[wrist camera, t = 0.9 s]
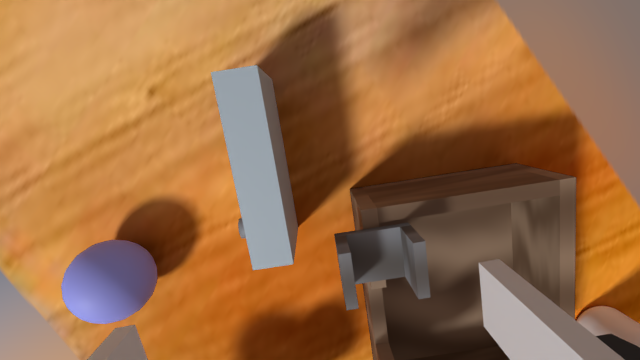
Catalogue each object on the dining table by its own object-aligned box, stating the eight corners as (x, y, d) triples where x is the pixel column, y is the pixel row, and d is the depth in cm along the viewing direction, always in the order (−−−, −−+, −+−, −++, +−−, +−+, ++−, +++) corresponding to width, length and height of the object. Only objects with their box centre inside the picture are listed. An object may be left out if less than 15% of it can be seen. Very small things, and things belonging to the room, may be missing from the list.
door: (229, 86, 28) (197, 74, 20) (272, 79, 28) (256, 65, 20) (258, 232, 31) (240, 272, 23) (298, 226, 31) (293, 264, 23)
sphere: (131, 213, 30) (79, 242, 23) (185, 264, 31) (150, 305, 24) (83, 259, 31) (18, 300, 24) (137, 307, 32) (90, 359, 25)
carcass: (327, 192, 30) (334, 232, 20) (515, 163, 30) (623, 188, 20) (354, 369, 34) (372, 480, 24) (520, 344, 34) (612, 444, 24)
